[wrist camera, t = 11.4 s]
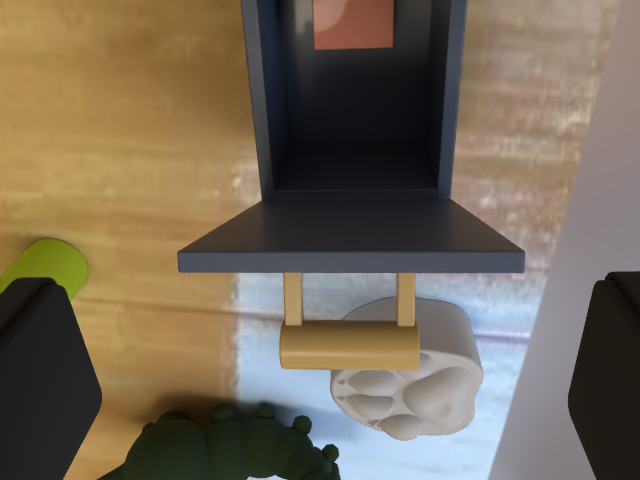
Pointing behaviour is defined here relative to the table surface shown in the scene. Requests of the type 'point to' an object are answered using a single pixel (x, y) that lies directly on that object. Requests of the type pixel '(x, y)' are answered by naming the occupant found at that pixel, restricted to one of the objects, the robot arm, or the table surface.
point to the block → (353, 24)
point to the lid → (352, 267)
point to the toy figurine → (227, 450)
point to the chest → (355, 104)
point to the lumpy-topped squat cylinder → (416, 376)
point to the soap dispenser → (49, 265)
